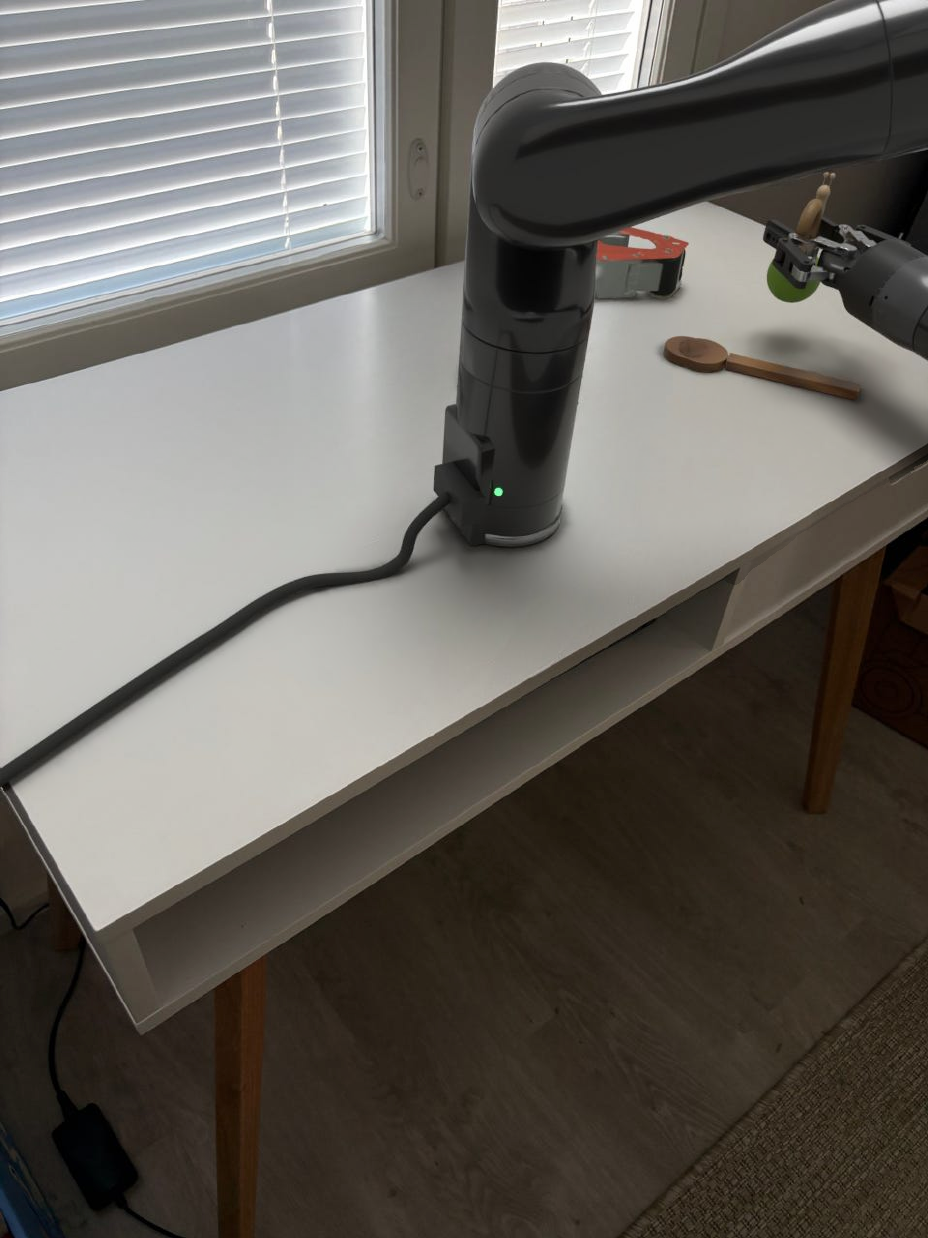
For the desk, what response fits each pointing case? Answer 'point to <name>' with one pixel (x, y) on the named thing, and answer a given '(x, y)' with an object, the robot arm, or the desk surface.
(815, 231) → the snail figurine
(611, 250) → the tape dispenser
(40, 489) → the desk surface
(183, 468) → the desk surface
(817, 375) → the spoon
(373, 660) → the desk surface
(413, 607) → the desk surface
